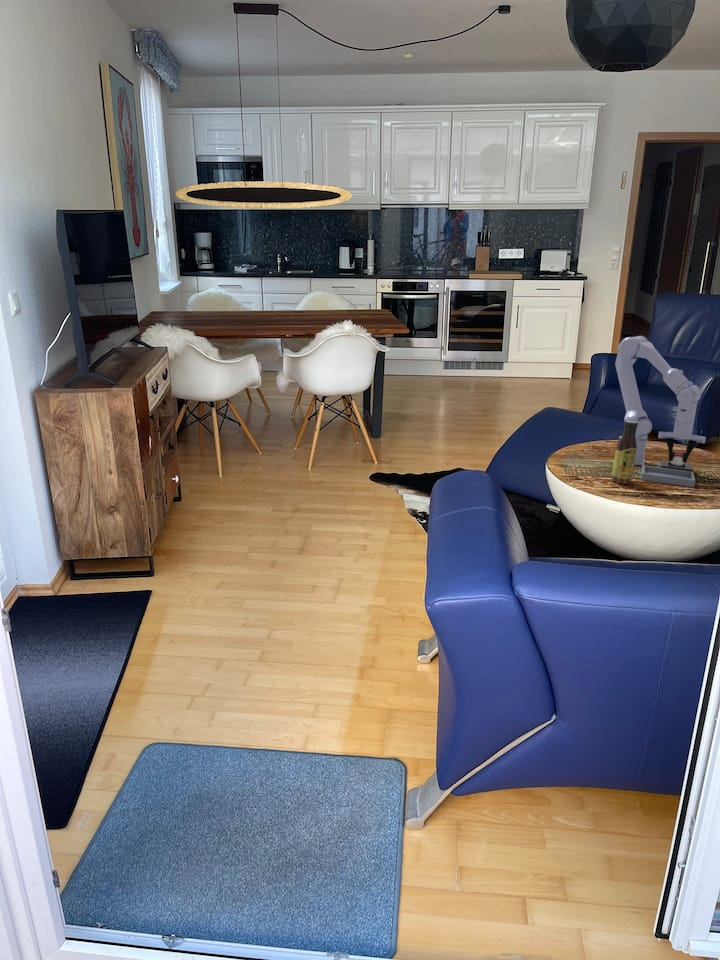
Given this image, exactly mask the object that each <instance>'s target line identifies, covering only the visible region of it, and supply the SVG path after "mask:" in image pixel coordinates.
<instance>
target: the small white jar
mask: <svg viewBox="0 0 720 960" xmlns="http://www.w3.org/2000/svg"><path fill="white" fill-rule="evenodd" d="M685 453H686V451H682V450H681V451H680V450H673V451H672V459H671V464H670V466H675V467H683V463H685V462H684V458H685Z"/></svg>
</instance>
